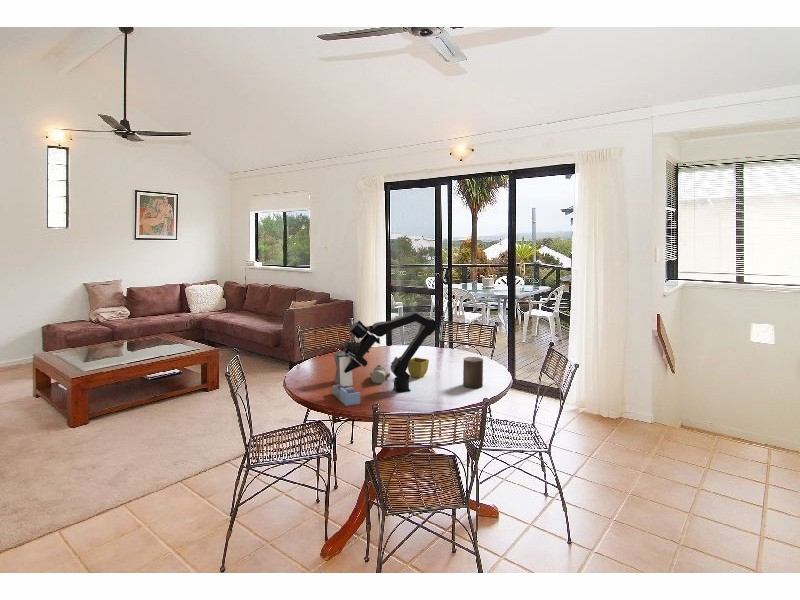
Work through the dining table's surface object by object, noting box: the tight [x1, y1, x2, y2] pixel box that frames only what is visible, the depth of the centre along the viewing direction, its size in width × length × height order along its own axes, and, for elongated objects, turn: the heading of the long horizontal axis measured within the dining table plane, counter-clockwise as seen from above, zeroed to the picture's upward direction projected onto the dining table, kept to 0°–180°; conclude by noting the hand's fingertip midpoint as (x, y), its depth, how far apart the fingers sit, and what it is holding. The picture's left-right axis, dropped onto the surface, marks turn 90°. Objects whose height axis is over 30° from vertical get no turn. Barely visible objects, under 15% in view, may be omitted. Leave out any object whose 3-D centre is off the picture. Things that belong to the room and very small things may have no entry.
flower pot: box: [407, 357, 430, 379], centre depth 258 cm, size 9×9×9 cm
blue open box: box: [331, 384, 355, 401], centre depth 227 cm, size 7×11×4 cm, turn 26°
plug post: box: [339, 357, 353, 387], centre depth 225 cm, size 4×4×12 cm
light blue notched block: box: [339, 386, 361, 407], centre depth 219 cm, size 7×9×6 cm
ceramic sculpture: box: [369, 364, 391, 384], centre depth 251 cm, size 11×9×15 cm
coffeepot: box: [333, 346, 346, 385], centre depth 249 cm, size 15×9×18 cm, turn 159°
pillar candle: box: [462, 356, 484, 389], centre depth 242 cm, size 10×10×15 cm
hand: (343, 371), depth 225 cm, fingers closed on plug post, 4 cm apart
